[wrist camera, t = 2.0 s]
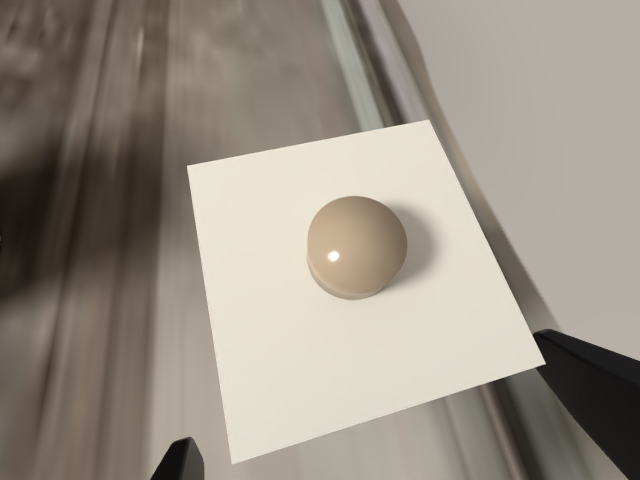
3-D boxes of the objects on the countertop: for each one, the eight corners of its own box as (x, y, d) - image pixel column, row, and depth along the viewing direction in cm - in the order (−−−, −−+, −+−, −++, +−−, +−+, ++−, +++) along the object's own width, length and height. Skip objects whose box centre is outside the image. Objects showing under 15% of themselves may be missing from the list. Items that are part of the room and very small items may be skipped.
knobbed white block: (395, 368, 18) (583, 362, 6) (277, 404, 17) (219, 481, 5) (359, 258, 20) (443, 91, 8) (253, 284, 19) (172, 139, 7)
